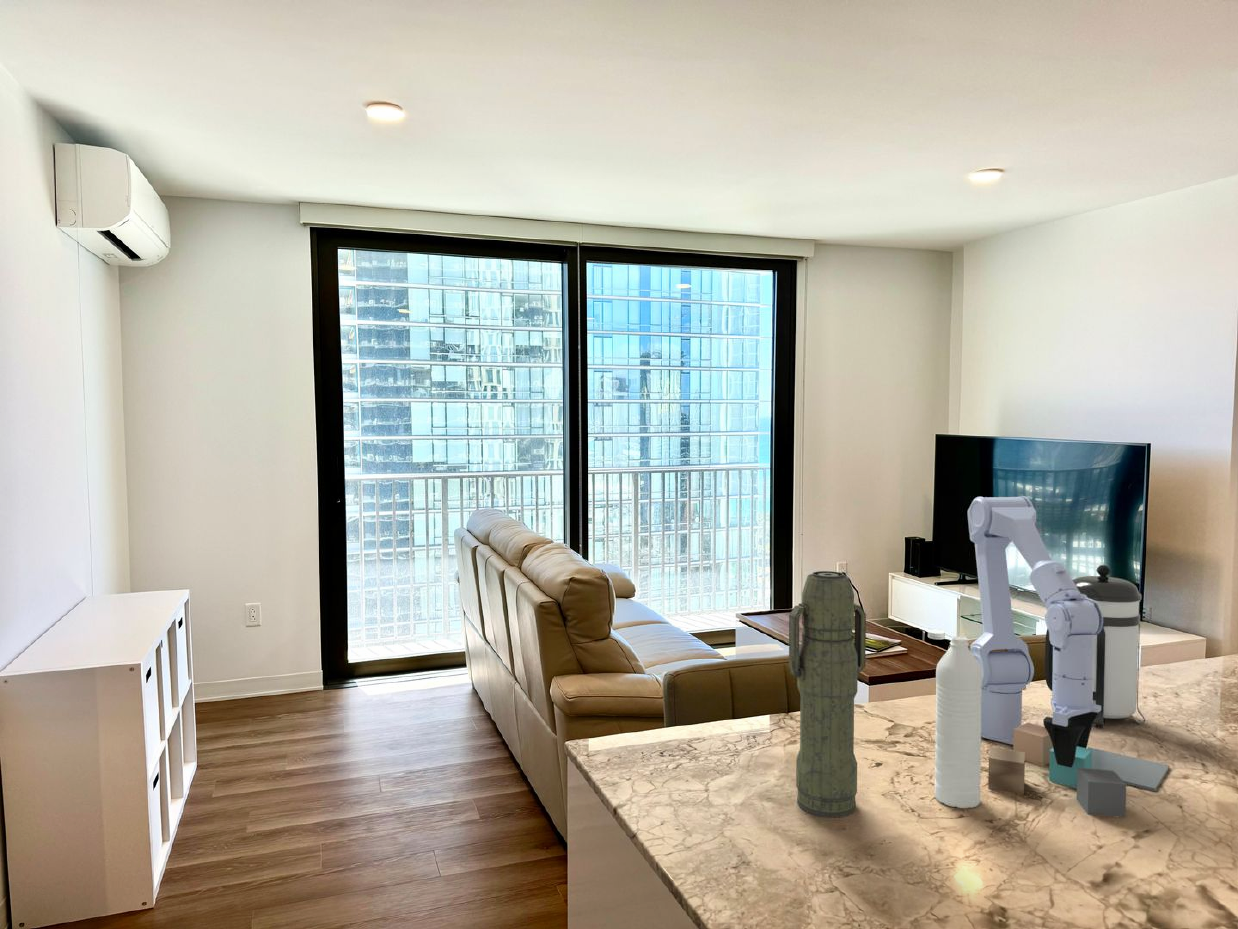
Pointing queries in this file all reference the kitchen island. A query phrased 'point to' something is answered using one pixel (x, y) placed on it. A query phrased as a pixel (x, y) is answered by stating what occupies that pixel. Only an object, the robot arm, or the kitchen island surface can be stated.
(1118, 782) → the charcoal block
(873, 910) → the kitchen island surface
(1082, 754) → the teal block
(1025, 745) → the terracotta block
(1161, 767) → the slate coaster
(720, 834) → the kitchen island surface
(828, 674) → the thermos
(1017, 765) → the walnut block
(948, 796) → the water bottle
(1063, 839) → the kitchen island surface
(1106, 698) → the coffee press
